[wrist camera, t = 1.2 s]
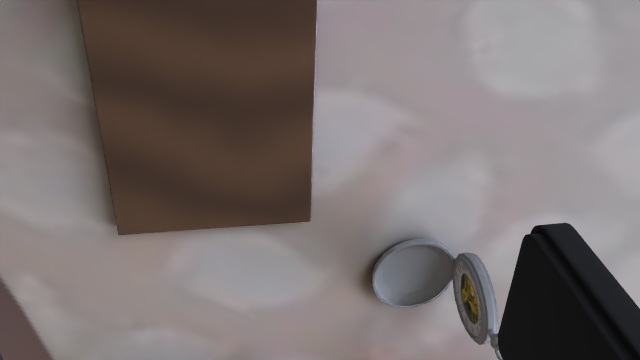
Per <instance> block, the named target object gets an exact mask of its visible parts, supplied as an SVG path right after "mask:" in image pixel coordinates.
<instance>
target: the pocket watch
mask: <svg viewBox="0 0 640 360" xmlns="http://www.w3.org/2000/svg"><path fill="white" fill-rule="evenodd" d="M452 280H453V288H454V295H455V301H456V304H457V308H458V312H459V315H460V318H461V321H462V323H463V325H464V327H465V329H466V331H467V332H468V334H469V335H470V337H471V338H472V339H473V340H474V341H475V342H476V343H478V344H479V345H481V344H486V343H489V342H490V343H491V346H492V347H493V348H494V349H495V353H496V355H497V358H498V359H499V360H503V359H502V358H501V356H500V354H499V352H498V350H499V348H498V334H497V329H498V310H497V303H496V298H495V293H494V289H493V286H492V283H491V280H490V277H489V275H488V272H487V270H486V268H485V266H484V264H483V263H482V261H481V260H480V258H479V257H478V256H477V255H475V254H473V253H462V254H459V255H458V256H457V258H454V259H453V256H452V254H451V252H450V251H449V250H448V249H447V248H446V247H445V246H444V245H443V244H441V243H439V242H437V241H434V240H429V239H423V238H422V239H414V240H407V241H404V242H402V243H400V244H398V245H395V246H393V247H392V248H391V249H389V250H388V251H387V252H385V253H384V254H383V255H382V256H381V258H380V259H379V260H378V261H377V263H376V265H375V267H374V269H373V273H372V284H373V288H374V291H375V293H376V295H377V296H378V297H379V298H380V300H382V301H383V302H385V303H386V304H388V305H392V306H395V307H399V308H409V307H416V306H419V305H422V304H425V303H428V302H430V301H432V300H434V299H435V298H437V297H438V296H440V295H441V294H442V293H443V292H444V291H445V290H446V289H447V288H448V286H449V284H450V283H451V281H452ZM473 292H474V293H473Z"/></svg>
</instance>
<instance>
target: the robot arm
mask: <svg viewBox="0 0 640 360" xmlns="http://www.w3.org/2000/svg"><path fill="white" fill-rule="evenodd" d="M498 348H499V351H500V354H501V357H502V359H503V360H640V309H639V307H638V306H637V305H636V304H635V302H634V301H633V300H632V299H631V298H630V296H629V295H628V294H627V293H626V291H625V290H624V289H623V288H622V286H621V285H620V284H619V283H618V282H617V280H616V279H615V278H614V277H613V275H612V274H611V273H610V272H609V270H608V269H607V268H606V267H605V266H604V264H603V263H602V262H601V261H600V259H599V258H598V257H597V256H596V254H595V253H594V252H593V251H592V250H591V248H590V247H589V246H588V245H587V243H586V242H585V241H584V240H583V238H582V237H581V236H580V235H579V234H578V232H577V231H576V230H575V229H574V228H573V227H572V226H571V225H570V224H568V223H559V224H548V225H538V226H535V227H534V228H533V229H532V231H531V234H528V235H525V237H524V238H523V241H522V244H521V248H520V252H519V256H518V260H517V264H516V268H515V271H514V275H513V279H512V283H511V287H510V291H509V295H508V298H507V302H506V306H505V310H504V314H503V318H502V322H501V326H500V329H499V333H498ZM0 360H3V359H2V356H1V354H0Z"/></svg>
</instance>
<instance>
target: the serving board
mask: <svg viewBox="0 0 640 360" xmlns="http://www.w3.org/2000/svg"><path fill="white" fill-rule="evenodd" d="M77 4H78V9H79V15H80V20H81V26H82V32H83V37H84V43H85V49H86V54H87V60H88V66H89V71H90V77H91V83H92V88H93V94H94V100H95V105H96V111H97V116H98V122H99V128H100V133H101V139H102V145H103V150H104V156H105V162H106V167H107V173H108V179H109V184H110V190H111V196H112V201H113V207H114V213H115V218H116V224H117V229H118V234H119V235H126V234H140V233H154V232H168V231H182V230H196V229H210V228H224V227H238V226H252V225H266V224H280V223H294V222H309V221H310V220H311V192H312V162H313V133H314V103H315V74H316V44H317V15H318V0H77Z"/></svg>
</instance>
